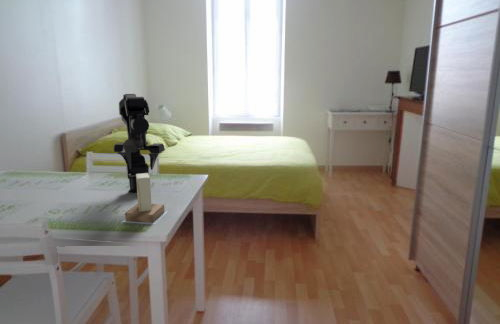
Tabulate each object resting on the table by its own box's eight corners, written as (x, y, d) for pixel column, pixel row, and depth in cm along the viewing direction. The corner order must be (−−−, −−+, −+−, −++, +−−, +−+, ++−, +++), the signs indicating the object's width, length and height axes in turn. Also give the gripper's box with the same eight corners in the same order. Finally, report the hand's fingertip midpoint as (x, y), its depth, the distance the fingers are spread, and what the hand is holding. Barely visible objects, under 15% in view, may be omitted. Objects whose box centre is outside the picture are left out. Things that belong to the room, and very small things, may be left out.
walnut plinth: (125, 221, 127) (124, 212, 126) (138, 210, 136) (138, 203, 135) (153, 222, 125) (152, 214, 124) (164, 212, 134) (164, 204, 134)
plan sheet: (121, 222, 126) (121, 222, 126) (137, 210, 137) (137, 209, 137) (154, 225, 124) (154, 224, 124) (168, 212, 135) (168, 211, 135)
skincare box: (137, 206, 132) (135, 173, 129) (150, 204, 133) (148, 172, 131) (139, 212, 126) (136, 178, 123) (152, 210, 128) (150, 176, 125)
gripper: (103, 132, 136) (108, 173, 139) (151, 133, 132) (154, 175, 136) (119, 128, 146) (122, 166, 150) (163, 129, 143) (166, 168, 147)
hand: (140, 169), depth 145 cm, fingers open, 9 cm apart
